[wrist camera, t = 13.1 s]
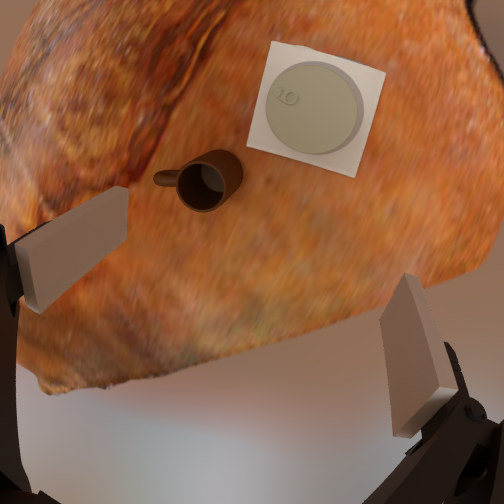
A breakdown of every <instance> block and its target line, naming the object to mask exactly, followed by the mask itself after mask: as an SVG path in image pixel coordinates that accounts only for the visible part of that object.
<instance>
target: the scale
mask: <svg viewBox="0 0 504 504" xmlns="http://www.w3.org/2000/svg"><path fill="white" fill-rule="evenodd" d="M304 65H315V66H321V67H325V68H327V69H330V70H332V71H334V72H336V73H337V74H339V75H340V76H341V77H342V78H343V79H344V80H345V81H346V82H347V83H348V84H349V86H350V87H351V89H352V90H353V92H354V94H355V97H356V100H357V105H358V118H357V122H356V126H355V128H354V130H353V132H352V134H351V135H350V137H349V138H348V139H347V140H346V141H345V142H344V143H343V144H342V145H341V146H339V147H338V148H336V149H334V150H332V151H329V152H326V153H321V154H306V153H301V152H298V151H295V150H293V149H291V148H289V147H288V146H286V145H285V144H283V143H282V142H281V141H280V140H279V139H278V138H277V137H276V136H275V134H274V133H273V132H272V130H271V128H270V126H269V124H268V121H267V117H266V111H265V105H266V98H267V95H268V92H269V90H270V88H271V86H272V85H273V83H274V82H275V81H276V79H277V78H278V77H279V76H281V75H282V74H283V73H285V72H286V71H288V70H290V69H292V68H295V67H299V66H304ZM385 75H386V73H385V72H382V71H379V70H376V69H374V68H371V67H368V66H366V65H365V64H362V63H359V62H356V61H353V60H350V59H347V58H343V57H340V56H337V55H335V56H333V55H329V54H326V53H322V52H318V51H315V50H314V49H312V48H309V47H306V46H301V45H296V46H294V45H290V44H285V43H280V42H276V41H272V42H271V46H270V50H269V54H268V58H267V62H266V66H265V70H264V74H263V78H262V82H261V86H260V90H259V94H258V99H257V103H256V107H255V111H254V115H253V119H252V124H251V128H250V132H249V136H248V141H247V145H246V146H247V147H251V148H255V149H259V150H263V151H266V152H270V153H274V154H277V155H281V156H284V157H288V158H291V159H295V160H298V161H302V162H305V163H308V164H312V165H315V166H318V167H321V168H325V169H328V170H331V171H334V172H337V173H340V174H343V175H346V176H349V177H352V178H355V175H356V172H357V169H358V166H359V163H360V160H361V157H362V154H363V151H364V147H365V144H366V141H367V138H368V134H369V131H370V128H371V125H372V121H373V118H374V114H375V111H376V107H377V104H378V100H379V97H380V93H381V90H382V86H383V82H384V79H385Z"/></svg>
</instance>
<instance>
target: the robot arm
mask: <svg viewBox="0 0 504 504" xmlns="http://www.w3.org/2000/svg"><path fill="white" fill-rule="evenodd" d="M128 198H129V189H127V188H123V187H119V186H115V187H113V188H111V189H109V190H107V191H105V192H103V193H101V194H99V195H97V196H95V197H93V198H92V199H90V200H88V201H86V202H84V203H82V204H80V205H79V206H77V207H75V208H73V209H71V210H70V211H68V212H66V213H64V214H63V215H61V216H59V217H57V218H56V219H54V220H51V221H48V222H45V223H43V224H41V225H39V226H38V227H36V228H35V229H33V230H31V231H29V233H26V234H25V235H23V236H21V237H20V238H18V239H17V240H15V241H13V242H12V243H10V244H9V245H7V241H6V235H5V228H4V226H3V225H2V224H0V504H61V503H59V502H57V501H56V500H54V499H53V498H51V497H50V496H48V495H47V494H45V493H44V492H42V491H39V493H38V495H37V494H34V493H32V491H31V487H30V483H29V480H28V477H27V475H26V473H25V470H24V468H23V466H22V462H21V456H20V448H19V438H18V427H17V411H16V348H17V332H18V320H19V310H20V305H19V300H18V299H19V298H20V297H21V296H23V295H24V297H25V301H26V305H27V307H28V308H30V309H31V310H33V311H35V312H37V313H38V314H41V313H42V312H43V311H44V310H45V309H46V308H48V307H49V306H50V305H51V304H52V303H53V302H54V301H55V300H56V299H57V298H59V297H60V296H61V295H62V294H63V293H64V292H65V291H66V290H67V289H69V288H70V287H71V286H72V285H73V284H74V283H75V282H77V281H78V280H79V279H80V278H81V277H82V276H83V275H85V274H86V273H87V272H88V271H89V270H90V269H92V268H93V267H94V266H95V265H96V264H98V263H99V262H100V261H101V260H102V259H104V258H105V257H106V256H107V255H108V254H110V253H111V252H112V251H113V250H114V249H116V248H117V247H118V246H119V245H121V244H122V243H123V242H124V241H126V233H127V213H128ZM380 326H381V333H382V338H383V346H384V353H385V360H386V367H387V376H388V385H389V394H390V404H391V416H392V429H393V436H395V437H403V438H412V437H413V436H414V435H415V434H416V433H417V432H418V431H419V430H421V433H422V439H421V440H419V442H417V443H416V444H415V445H414V446H413V447H412V448H410V449H409V450H408V451H407V452H406V453H405V454H406V457H405V458H404V459H403V460H402V461H401V463H400V464H399V465H398V466H397V467H396V468H395V469H394V471H393V472H392V473H391V474H390V475H389V476H388V477H387V478H386V479H385V480H384V482H383V483H382V484H381V485H380V486H379V487H378V488H377V489H376V490H375V491H374V492H373V493H372V494H371V495H370V496H369V497H368V498H367V499H366V500H365V501H364V502H363V503H362V504H442V503H443V504H504V420H503V421H502V422H501V423H500V424H497V423H495V422H493V421H491V420H489V419H487V415H486V411H485V409H484V407H483V406H482V405H481V404H480V403H479V402H478V401H477V400H475V399H474V398H471V397H469V394H468V390H467V387H466V383H465V380H464V377H463V374H462V372H461V368H460V365H459V364H458V359H457V357H456V354H455V352H454V350H453V349H452V347H451V346H450V345H449V343H447V342H444V341H443V339H442V337H441V334H440V331H439V328H438V325H437V323H436V320H435V317H434V315H433V312H432V309H431V307H430V304H429V302H428V299H427V297H426V294H425V292H424V289H423V287H422V285H421V282H420V280H419V277H416V276H413V275H410V274H407V273H404V274H403V276H402V278H401V280H400V282H399V284H398V286H397V288H396V290H395V292H394V294H393V296H392V298H391V299H390V301H389V303H388V305H387V307H386V309H385V311H384V312H383V314H382V316H381V318H380Z"/></svg>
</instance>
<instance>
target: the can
mask: <svg viewBox="0 0 504 504" xmlns="http://www.w3.org/2000/svg"><path fill="white" fill-rule="evenodd" d="M265 111H266V117H267V121H268V124H269V126H270V128H271V130H272V132H273V133H274V134H275V136H276V137H277V138H278V139H279V140H280V141H281V142H282V143H283V144H285V145H286V146H288V147H289V148H291V149H293V150H295V151H298V152H301V153H306V154H321V153H326V152H329V151H332V150H334V149H336V148H338V147H339V146H341V145H342V144H343V143H344V142H345V141H346V140H347V139H348V138H349V137H350V135H351V134H352V132H353V130H354V128H355V126H356V122H357V118H358V105H357V100H356V97H355V94H354V92H353V90H352V89H351V87H350V86H349V84H348V83H347V82H346V81H345V80H344V79H343V78H342V77H341V76H340V75H339V74H337V73H336V72H334V71H332V70H330V69H327V68H325V67H321V66H315V65H304V66H299V67H295V68H292V69H290V70H288V71H286V72H285V73H283V74H282V75H281V76H279V77H278V78H277V79H276V81H275V82H274V83H273V85H272V86H271V88H270V90H269V92H268V95H267V98H266V105H265Z"/></svg>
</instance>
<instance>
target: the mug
mask: <svg viewBox="0 0 504 504" xmlns="http://www.w3.org/2000/svg"><path fill="white" fill-rule="evenodd" d="M153 180H154V182H155V184H157V185H159V186H165V187H176V190H177V194H178V196H179V198H180V200H181V201H182V202H183V203H184V205H186V206H187V207H188V208H190V209H192V210H194V211H197V212H210V211H213V210H215V209H216V208H218V207H219V206H221V205H222V204H223V203H224V202H225V201H226V200H227V199H228V198H229V197H230V196H231V195H232V194H233V193H234V192H235V191H236V189H237V188H238V187H239V185H240V183H241V180H242V167H241V164H240V162H239V161H238V159H237V158H236V157H235V156H234V155H232V154H231V153H229V152H227V151H223V150H215V151H211V152H208V153H206V154H204V155H202V156H199V157H197V158H195V159H193V160H192V161H190V162H189V163H187V164H186V165H185V166H184V167H183V168H182V169H181V170H163V171H160V172H157V173H156V174H155V175H154V178H153Z"/></svg>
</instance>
